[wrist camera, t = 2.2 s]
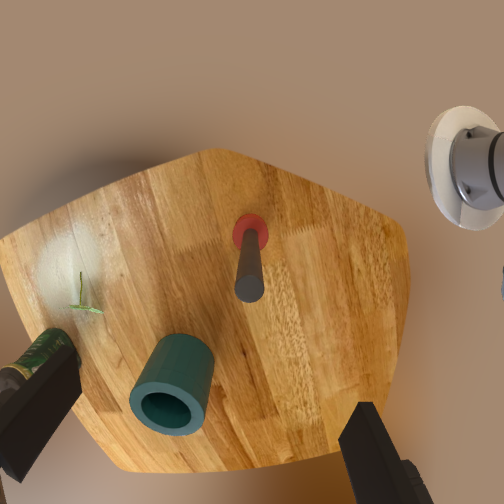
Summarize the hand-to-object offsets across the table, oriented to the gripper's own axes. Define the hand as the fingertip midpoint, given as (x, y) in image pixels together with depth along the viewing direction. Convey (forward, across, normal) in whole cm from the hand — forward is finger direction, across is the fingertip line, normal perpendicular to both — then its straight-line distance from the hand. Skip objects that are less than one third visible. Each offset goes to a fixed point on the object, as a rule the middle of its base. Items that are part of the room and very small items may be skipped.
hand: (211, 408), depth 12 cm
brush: (+31, +1, +3) cm, 31 cm away
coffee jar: (+31, -30, -26) cm, 50 cm away
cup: (+31, -6, -20) cm, 37 cm away
